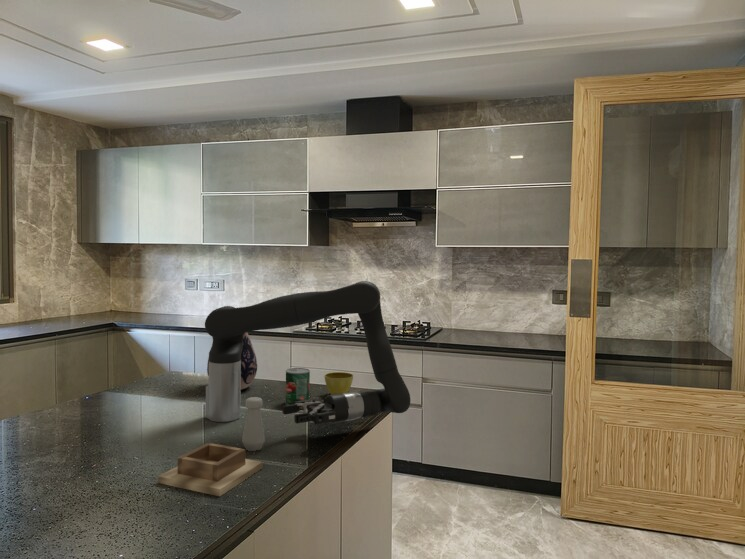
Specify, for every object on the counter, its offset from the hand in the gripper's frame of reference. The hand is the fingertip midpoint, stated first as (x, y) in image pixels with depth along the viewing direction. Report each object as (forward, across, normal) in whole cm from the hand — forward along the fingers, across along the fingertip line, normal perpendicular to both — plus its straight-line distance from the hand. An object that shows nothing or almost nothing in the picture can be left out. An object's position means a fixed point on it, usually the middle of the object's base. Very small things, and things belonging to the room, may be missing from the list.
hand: (288, 414), depth 146 cm
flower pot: (-33, -37, +8) cm, 50 cm away
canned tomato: (-16, -34, +8) cm, 38 cm away
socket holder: (+23, +12, +8) cm, 27 cm away
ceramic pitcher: (-2, -63, +8) cm, 63 cm away
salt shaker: (+9, 0, +8) cm, 12 cm away
